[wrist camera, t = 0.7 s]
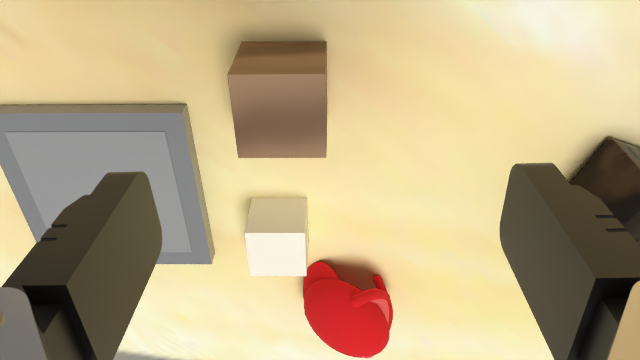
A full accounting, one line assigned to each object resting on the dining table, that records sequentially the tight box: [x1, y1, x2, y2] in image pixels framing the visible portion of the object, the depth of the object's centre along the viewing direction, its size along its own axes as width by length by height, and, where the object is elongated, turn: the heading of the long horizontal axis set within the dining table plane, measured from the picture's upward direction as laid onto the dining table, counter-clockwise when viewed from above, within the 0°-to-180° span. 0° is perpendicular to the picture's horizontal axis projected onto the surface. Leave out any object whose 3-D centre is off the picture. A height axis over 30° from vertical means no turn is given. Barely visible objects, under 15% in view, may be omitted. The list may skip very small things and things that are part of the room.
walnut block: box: [228, 42, 327, 158], centre depth 28 cm, size 5×5×5 cm
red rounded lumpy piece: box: [303, 262, 393, 358], centre depth 38 cm, size 8×6×6 cm
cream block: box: [244, 197, 309, 276], centre depth 35 cm, size 4×4×4 cm
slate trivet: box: [0, 104, 215, 264], centre depth 35 cm, size 13×13×1 cm
